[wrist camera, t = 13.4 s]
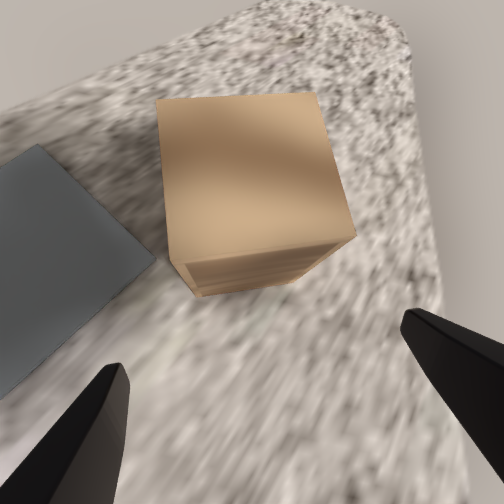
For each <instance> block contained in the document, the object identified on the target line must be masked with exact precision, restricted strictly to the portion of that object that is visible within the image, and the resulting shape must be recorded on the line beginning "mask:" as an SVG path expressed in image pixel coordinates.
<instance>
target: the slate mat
mask: <svg viewBox="0 0 504 504" xmlns="http://www.w3.org/2000/svg"><path fill="white" fill-rule="evenodd" d="M155 260H156V258H155V257H154V256H153V255H152V254H151V253H150V252H149V251H148V250H147V249H146V248H145V247H144V246H143V245H142V244H141V243H140V242H139V241H138V240H137V239H135V238H134V237H133V236H132V235H131V234H130V233H129V232H128V231H127V230H126V229H125V228H124V227H123V226H122V225H121V224H120V223H119V222H118V221H117V220H116V219H115V218H114V217H113V216H112V215H111V214H110V213H109V212H108V211H107V210H106V209H104V208H103V207H102V206H101V205H100V204H99V203H98V202H97V201H96V200H95V199H94V198H93V197H92V196H91V195H90V194H89V193H88V192H87V191H86V190H85V189H84V188H83V187H82V186H81V185H80V184H79V183H78V182H77V181H76V180H75V179H73V178H72V177H71V176H70V175H69V174H68V173H67V172H66V171H65V170H64V169H63V168H62V167H61V166H60V165H59V164H58V163H57V162H56V161H55V160H54V159H53V158H52V157H51V156H50V155H49V154H48V153H47V152H46V151H45V150H44V149H42V148H41V147H40V146H39V145H38V144H36V145H35V146H33V147H32V148H30V149H28V150H27V151H25V152H24V153H22V154H21V155H19V156H18V157H16V158H14V159H13V160H11V161H10V162H8V163H7V164H5V165H4V166H2V167H1V168H0V400H1V399H2V398H3V397H4V396H5V395H6V394H8V393H9V392H10V391H11V390H12V389H13V388H14V387H15V386H16V385H17V384H19V383H20V382H21V381H22V380H23V379H24V378H25V377H26V376H27V375H29V374H30V373H31V372H32V371H33V370H34V369H35V368H36V367H37V366H39V365H40V364H41V363H42V362H43V361H44V360H45V359H46V358H47V357H48V356H50V355H51V354H52V353H53V352H54V351H55V350H56V349H57V348H58V347H60V346H61V345H62V344H63V343H64V342H65V341H66V340H67V339H68V338H70V337H71V336H72V335H73V334H74V333H75V332H76V331H77V330H78V329H79V328H81V327H82V326H83V325H84V324H85V323H86V322H87V321H88V320H89V319H91V318H92V317H93V316H94V315H95V314H96V313H97V312H98V311H99V310H101V309H102V308H103V307H104V306H105V305H106V304H107V303H108V302H109V301H110V300H112V299H113V298H114V297H115V296H116V295H117V294H118V293H119V292H120V291H122V290H123V289H124V288H125V287H126V286H127V285H128V284H129V283H130V282H132V281H133V280H134V279H135V278H136V277H137V276H138V275H139V274H140V273H141V272H143V271H144V270H145V269H146V268H147V267H148V266H149V265H150V264H151V263H153V262H154V261H155Z"/></svg>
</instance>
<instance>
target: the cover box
mask: <svg viewBox="0 0 504 504" xmlns="http://www.w3.org/2000/svg"><path fill="white" fill-rule="evenodd" d="M156 108H157V119H158V131H159V142H160V154H161V165H162V177H163V188H164V200H165V211H166V223H167V234H168V246H169V257H170V261H171V263H172V264H173V266H174V267H175V268H176V270H177V271H178V272H179V274H180V275H181V276H182V278H183V279H184V281H185V282H186V283H187V285H188V286H189V287H190V289H191V290H192V292H193V293H194V294H195V296H196V297H204V296H210V295H217V294H223V293H230V292H236V291H243V290H249V289H256V288H262V287H269V286H275V285H282V284H288V283H293V282H295V281H296V280H297V279H299V278H300V277H301V276H303V275H304V274H306V273H307V272H308V271H310V270H311V269H312V268H314V267H315V266H316V265H318V264H319V263H320V262H322V261H323V260H325V259H326V258H327V257H329V256H330V255H331V254H333V253H334V252H335V251H337V250H338V249H340V248H341V247H342V246H344V245H345V244H346V243H348V242H349V241H350V240H352V239H353V238H354V237H356V236H357V235H356V231H355V228H354V224H353V221H352V218H351V214H350V211H349V207H348V204H347V200H346V197H345V193H344V190H343V187H342V183H341V180H340V176H339V173H338V169H337V166H336V162H335V159H334V156H333V152H332V149H331V145H330V142H329V138H328V135H327V132H326V128H325V125H324V121H323V118H322V114H321V111H320V107H319V104H318V101H317V97H316V94H315V92H305V93H284V94H263V95H242V96H221V97H200V98H179V99H158V100H156Z"/></svg>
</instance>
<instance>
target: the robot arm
mask: <svg viewBox="0 0 504 504" xmlns="http://www.w3.org/2000/svg"><path fill="white" fill-rule="evenodd" d="M400 331H401V334H402V336H403V338H404V340H405V341H406V343H407V345H408V346H409V348H410V350H411V351H412V353H413V355H414V356H415V358H416V360H417V361H418V363H419V365H420V366H421V368H422V370H423V371H424V373H425V375H426V376H427V378H428V379H429V381H430V382H431V383H432V385H433V386H434V388H435V389H436V390H437V392H438V393H439V395H440V396H441V397H442V399H443V400H444V401H445V403H446V404H447V406H448V407H449V408H450V410H451V411H452V413H453V414H454V415H455V417H456V418H457V419H458V421H459V422H460V424H461V425H462V426H463V428H464V429H465V430H466V432H467V433H468V435H469V436H470V437H471V439H472V440H473V441H474V443H475V444H476V446H477V447H478V448H479V450H480V451H481V453H482V454H483V455H484V457H485V458H486V459H487V461H488V462H489V464H490V465H491V466H492V467H493V469H494V471H495V472H496V473H497V475H498V476H499V477H500V479H501V480H502V482H503V483H504V344H502V343H499V342H497V341H495V340H492V339H490V338H488V337H485V336H483V335H481V334H479V333H476V332H474V331H471V330H469V329H467V328H465V327H462V326H460V325H457V324H455V323H453V322H451V321H448V320H446V319H444V318H442V317H439V316H437V315H435V314H432V313H430V312H428V311H425V310H423V309H421V308H413V309H408V310H406V311H405V313H404V316H403V319H402V323H401V326H400ZM129 394H130V382H129V379H128V376H127V374H126V372H125V369H124V367H123V365H122V364H121V363H113V364H108V365H105V366H104V367H103V368H102V369H101V370H100V372H99V373H98V374H97V375H96V376H95V377H94V379H93V380H92V381H91V382H90V383H89V384H88V386H87V387H86V388H85V389H84V390H83V391H82V393H81V394H80V395H79V396H78V397H77V398H76V400H75V401H74V402H73V403H72V404H71V405H70V407H69V408H68V409H67V410H66V411H65V412H64V414H63V415H62V416H61V417H60V418H59V419H58V421H57V422H56V423H55V424H54V425H53V426H52V428H51V429H50V430H49V431H48V432H47V433H46V435H45V436H44V437H43V438H42V439H41V440H40V442H39V443H38V444H37V445H36V446H35V447H34V449H33V450H32V451H31V452H30V453H29V454H28V456H27V457H26V458H25V459H24V460H23V461H22V462H21V464H20V465H19V466H18V467H17V468H16V469H15V471H14V472H13V473H12V474H11V475H10V476H9V478H8V479H7V480H6V481H5V482H4V483H3V485H2V486H1V487H0V504H113V502H114V497H115V492H116V487H117V482H118V477H119V472H120V467H121V462H122V457H123V451H124V445H125V436H126V426H127V415H128V404H129Z"/></svg>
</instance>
